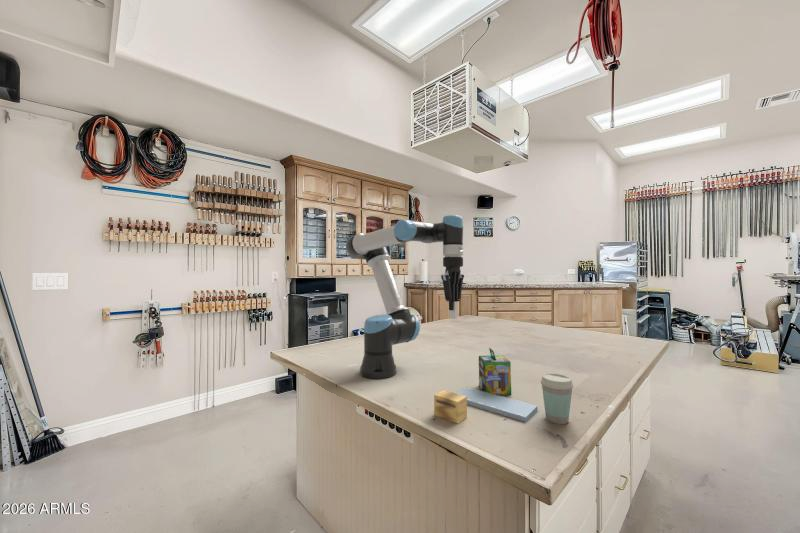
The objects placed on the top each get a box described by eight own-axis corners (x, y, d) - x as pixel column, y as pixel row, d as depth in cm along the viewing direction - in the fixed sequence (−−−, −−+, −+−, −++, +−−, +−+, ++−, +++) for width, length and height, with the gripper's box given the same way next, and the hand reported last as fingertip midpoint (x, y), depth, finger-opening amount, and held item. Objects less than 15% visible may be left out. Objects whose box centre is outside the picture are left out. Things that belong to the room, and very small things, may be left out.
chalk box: (511, 395, 109) (511, 352, 110) (484, 395, 109) (484, 352, 109) (502, 385, 119) (502, 345, 119) (478, 385, 119) (478, 345, 119)
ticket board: (452, 400, 106) (452, 395, 106) (467, 391, 113) (467, 386, 113) (525, 422, 90) (525, 417, 90) (537, 410, 98) (537, 405, 98)
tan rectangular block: (433, 415, 94) (433, 394, 94) (443, 409, 98) (443, 389, 98) (457, 423, 89) (457, 402, 89) (466, 417, 93) (466, 396, 93)
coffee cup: (581, 423, 89) (580, 380, 89) (555, 428, 87) (555, 383, 87) (557, 410, 97) (557, 371, 98) (534, 414, 95) (534, 374, 95)
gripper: (452, 255, 114) (452, 321, 114) (470, 256, 124) (470, 317, 124) (435, 256, 119) (435, 319, 119) (453, 257, 129) (453, 315, 129)
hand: (453, 318), depth 122 cm, fingers closed
